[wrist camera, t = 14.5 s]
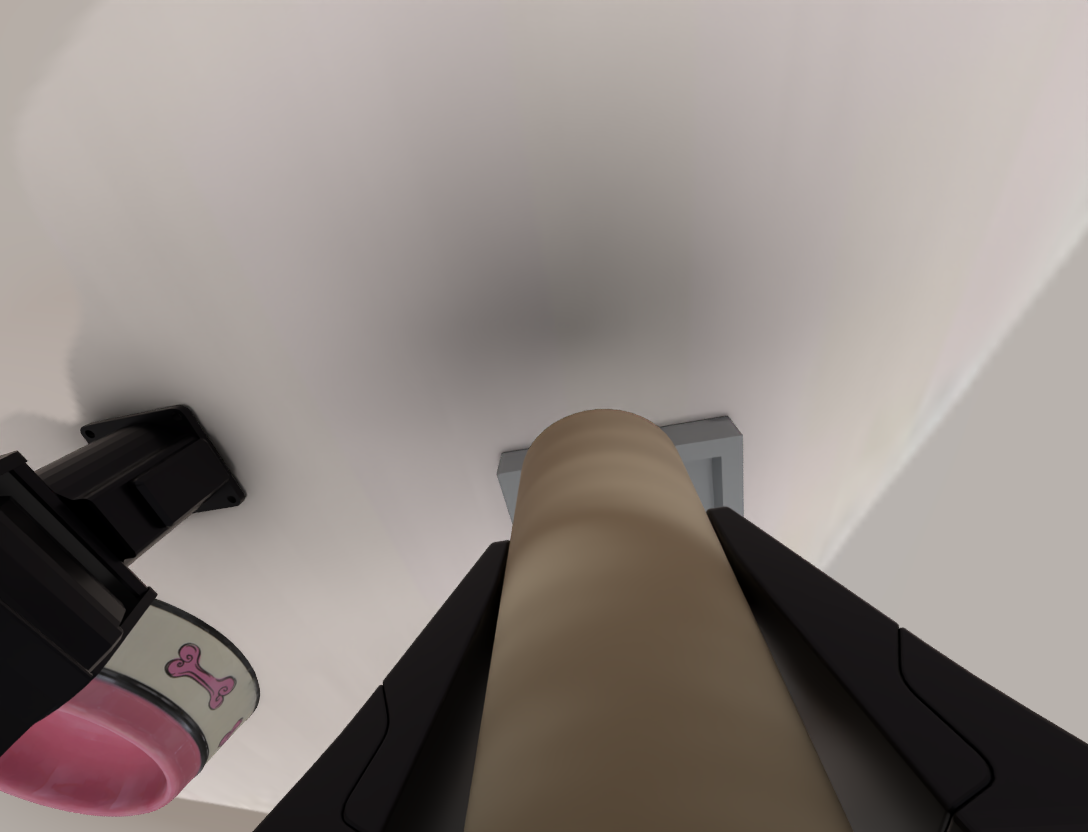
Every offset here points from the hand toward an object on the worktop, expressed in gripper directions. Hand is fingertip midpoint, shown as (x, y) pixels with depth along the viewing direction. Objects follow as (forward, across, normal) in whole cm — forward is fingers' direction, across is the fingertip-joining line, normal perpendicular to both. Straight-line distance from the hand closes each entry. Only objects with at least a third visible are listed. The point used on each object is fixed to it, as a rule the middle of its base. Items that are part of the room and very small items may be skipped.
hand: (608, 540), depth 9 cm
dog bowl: (+14, +39, +18) cm, 45 cm away
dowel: (+2, 0, 0) cm, 2 cm away
